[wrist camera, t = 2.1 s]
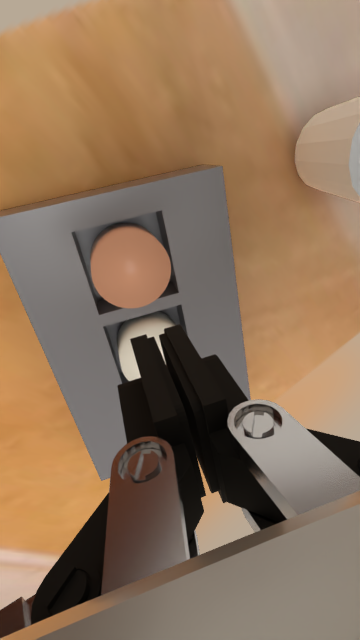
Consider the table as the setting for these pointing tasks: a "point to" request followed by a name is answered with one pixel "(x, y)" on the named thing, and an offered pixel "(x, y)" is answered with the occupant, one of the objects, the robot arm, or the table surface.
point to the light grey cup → (332, 151)
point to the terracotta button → (129, 265)
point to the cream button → (134, 328)
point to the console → (105, 318)
